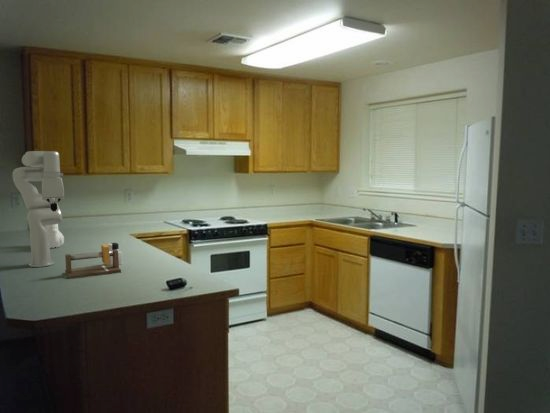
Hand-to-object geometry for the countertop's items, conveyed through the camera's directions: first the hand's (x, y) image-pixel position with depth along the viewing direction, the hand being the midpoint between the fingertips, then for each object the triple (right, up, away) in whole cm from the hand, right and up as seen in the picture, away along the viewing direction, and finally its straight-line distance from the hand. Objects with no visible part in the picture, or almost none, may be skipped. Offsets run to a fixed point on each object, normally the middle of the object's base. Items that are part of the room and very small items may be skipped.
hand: (54, 211), depth 237 cm
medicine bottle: (+23, -30, +21) cm, 44 cm away
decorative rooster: (-36, -26, +72) cm, 85 cm away
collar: (+25, -27, +5) cm, 37 cm away
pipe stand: (+19, -32, +2) cm, 37 cm away
